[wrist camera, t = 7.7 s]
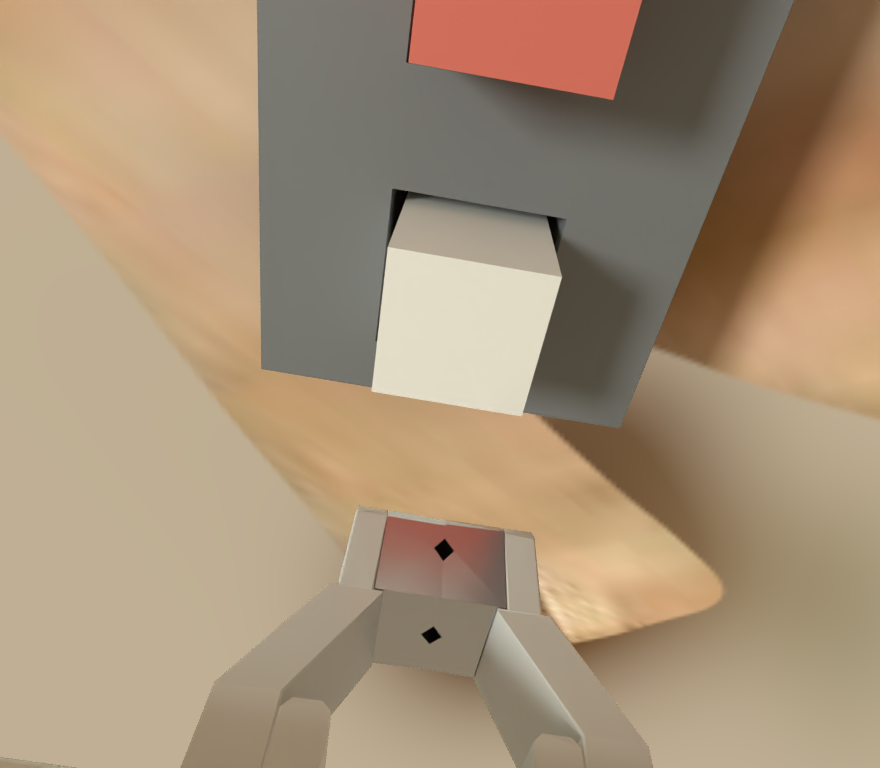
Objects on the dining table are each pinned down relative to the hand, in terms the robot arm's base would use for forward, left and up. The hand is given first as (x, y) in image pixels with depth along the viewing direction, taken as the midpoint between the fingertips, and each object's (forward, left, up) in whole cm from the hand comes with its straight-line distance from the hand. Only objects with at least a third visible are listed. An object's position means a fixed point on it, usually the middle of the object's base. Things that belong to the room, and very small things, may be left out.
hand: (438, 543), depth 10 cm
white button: (0, 0, -12) cm, 12 cm away
